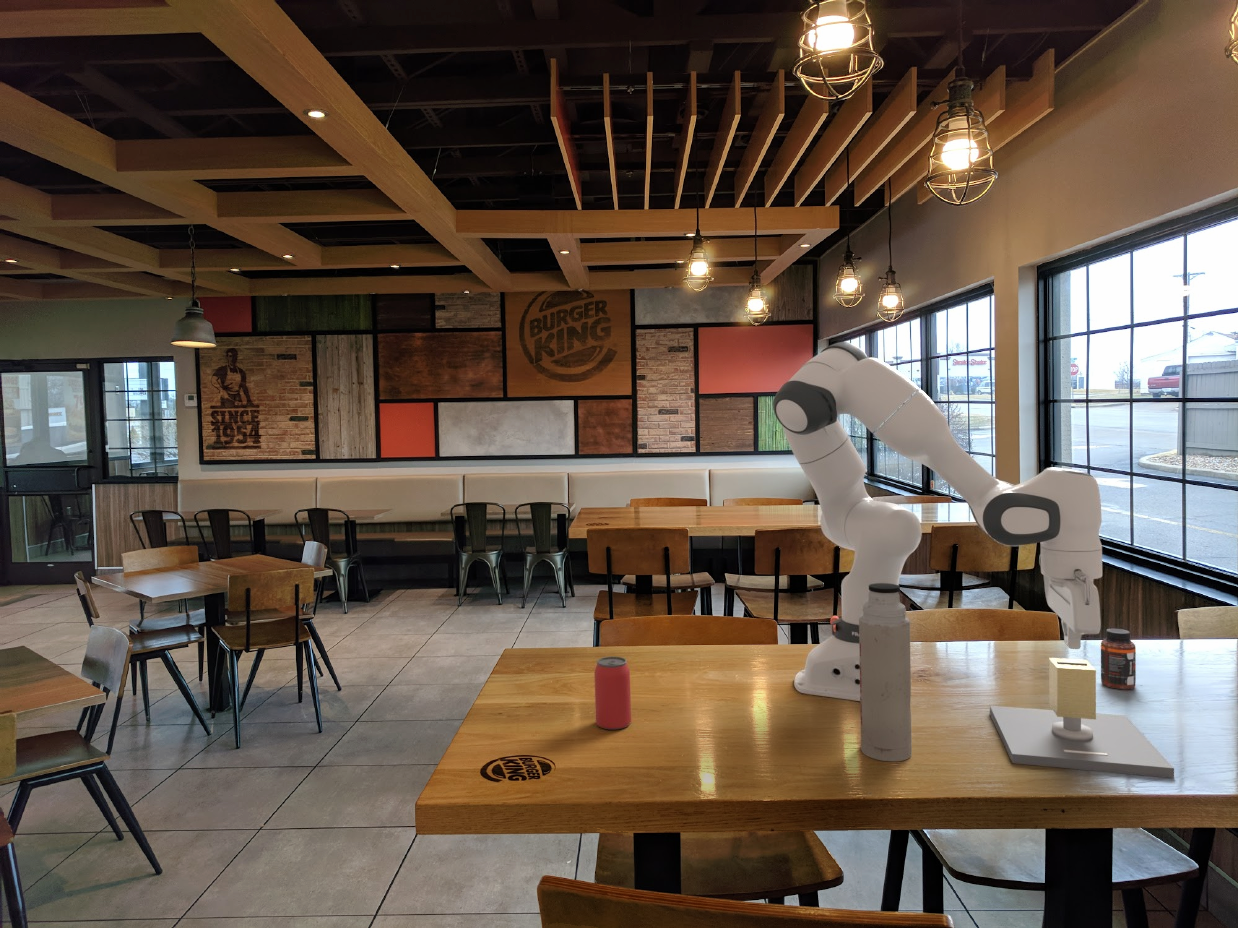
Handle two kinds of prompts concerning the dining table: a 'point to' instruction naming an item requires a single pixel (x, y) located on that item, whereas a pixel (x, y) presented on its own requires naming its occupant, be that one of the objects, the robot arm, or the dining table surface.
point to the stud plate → (1078, 742)
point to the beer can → (612, 693)
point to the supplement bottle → (1118, 660)
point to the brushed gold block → (1072, 688)
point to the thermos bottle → (885, 675)
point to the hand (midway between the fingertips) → (1072, 646)
